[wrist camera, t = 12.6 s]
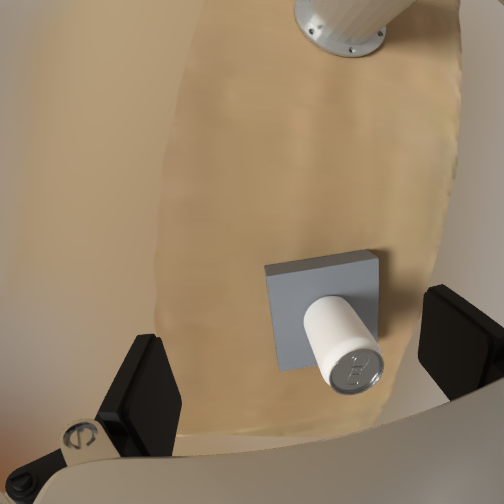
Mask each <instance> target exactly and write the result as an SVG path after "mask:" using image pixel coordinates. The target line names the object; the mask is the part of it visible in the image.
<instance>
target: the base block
mask: <svg viewBox="0 0 504 504" xmlns="http://www.w3.org/2000/svg"><path fill="white" fill-rule="evenodd" d="M264 269H265V276H266V283H267V290H268V297H269V304H270V311H271V318H272V325H273V332H274V340H275V347H276V354H277V360H278V365H279V370H280V372H281V371H287V370H293V369H299V368H304V367H310V366H315V365H318V363H317V361H316V358H315V355H314V353H313V350H312V347H311V345H310V342H309V339H308V337H307V334H306V331H305V328H304V316H305V313H306V311H307V309H308V308H309V307H310V306H311V305H312V304H313V303H314V302H315V301H317V300H318V299H320V298H323V297H327V296H338V297H341V298H343V299H344V300H346V301H347V302H348V303H349V304H350V306H351V307H352V308H353V310H354V311H355V312H356V314H357V315H358V316H359V318H360V319H361V320H362V322H363V323H364V325H365V326H366V327H367V329H368V330H369V332H370V333H371V334H372V336H373V337H374V339H375V340H376V342H378V316H379V258H378V257H377V256H375V255H374V254H372V253H371V252H370V251H368V250H367V249H366V250H360V251H354V252H348V253H342V254H336V255H330V256H323V257H317V258H311V259H304V260H298V261H292V262H285V263H279V264H272V265H266V266H264Z"/></svg>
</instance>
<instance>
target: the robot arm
mask: <svg viewBox="0 0 504 504" xmlns="http://www.w3.org/2000/svg"><path fill="white" fill-rule="evenodd" d="M415 1H417V0H296V3H295V8H294V14H295V18H296V22H297V24H298V26H299V28H300V30H301V31H302V32H303V34H304V35H305V36H306V37H307V38H308V39H309V40H310V41H311V42H312V43H313V44H315V45H316V46H317V47H319V48H321V49H322V50H324V51H326V52H328V53H331V54H334V55H337V56H342V57H352V58H353V57H361V56H364V55H367V54H369V53H371V52H373V51H374V50H375V49H377V48H378V47H379V46H380V45H381V43H382V42H383V40H384V38H385V35H386V25H387V24H388V23H389V22H391V21H392V20H393V19H394V18H395V17H397V16H398V15H399V14H400V13H402V12H403V11H404V10H405V9H407V8H408V7H409V6H410V5H412V4H413V3H414V2H415ZM498 1H500V2H501V3H502V4H503V5H504V0H498ZM310 33H312V34H313V35H312V34H310ZM349 51H351V52H349ZM418 359H419V362H420V363H421V365H422V366H423V367H424V368H425V370H426V371H427V372H428V373H429V375H430V376H431V377H432V378H433V380H434V381H435V382H436V383H437V385H438V386H439V387H440V389H441V390H442V391H443V392H444V394H445V395H446V396H447V398H448V399H449V400H450V402H447V403H444V404H442V405H440V406H437V407H434V408H431V409H429V410H426V411H423V412H421V413H418V414H415V415H412V416H409V417H406V418H403V419H400V420H396V421H393V422H390V423H387V424H384V425H380V426H377V427H373V428H369V429H366V430H362V431H358V432H354V433H350V434H346V435H342V436H338V437H333V438H329V439H325V440H319V441H315V442H309V443H304V444H298V445H293V446H287V447H281V448H273V449H267V450H259V451H250V452H241V453H231V454H216V455H199V456H172V451H173V447H174V442H175V437H176V431H177V426H178V421H179V416H180V412H181V407H182V400H181V396H180V393H179V390H178V387H177V384H176V382H175V379H174V376H173V373H172V370H171V367H170V364H169V361H168V358H167V355H166V352H165V349H164V346H163V343H162V340H161V338H160V337H156V336H155V334H144V335H137V337H136V339H135V340H134V343H133V344H132V346H131V348H130V350H129V352H128V353H127V355H126V357H125V359H124V361H123V363H122V365H121V367H120V369H119V371H118V373H117V375H116V377H115V378H114V381H113V383H112V385H111V386H110V389H109V390H108V393H107V395H106V396H105V399H104V400H103V402H102V404H101V406H100V409H99V411H98V413H97V415H96V417H95V419H94V420H93V419H80V420H77V421H74V422H72V423H70V424H68V425H67V426H66V427H65V428H64V429H63V430H62V432H61V433H60V436H59V445H60V449H58V450H56V451H54V452H52V453H50V454H48V455H46V456H43V457H41V458H39V459H37V460H35V461H33V462H31V463H29V464H26V465H24V466H22V467H20V468H18V469H16V470H15V471H13V472H12V473H11V474H10V475H9V477H8V478H7V480H6V485H5V488H6V492H5V493H4V494H3V493H2V492H1V491H0V504H504V328H503V327H502V326H501V325H499V324H498V323H497V322H495V321H494V320H492V319H491V318H490V317H489V316H487V315H486V314H485V313H483V312H482V311H480V310H479V309H478V308H476V307H475V306H474V305H472V304H471V303H469V302H468V301H467V300H465V299H464V298H462V297H461V296H459V295H458V294H457V293H455V292H454V291H452V290H451V289H449V288H448V287H446V286H445V285H443V284H441V285H437V286H433V287H429V288H428V290H427V292H425V294H424V299H423V311H422V322H421V332H420V340H419V349H418Z"/></svg>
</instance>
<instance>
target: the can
mask: <svg viewBox="0 0 504 504" xmlns="http://www.w3.org/2000/svg"><path fill="white" fill-rule="evenodd" d="M304 328H305V331H306V334H307V337H308V339H309V342H310V345H311V347H312V350H313V353H314V355H315V358H316V361H317V363H318V366H319V369H320V371H321V374H322V376H323V378H324V380H325V381H326V382H327V383H328V384H329V385H330V386H331V387H332V389H333V390H334V391H336V392H337V393H339V394H343V395H355V394H359V393H362V392H364V391H366V390H368V389H369V388H371V387H372V386H373V385H374V384H375V383H376V382H377V381H378V380H379V378H380V377H381V375H382V372H383V369H384V361H383V358H382V352H381V349H380V347H379V345H378V343H377V342H376V340H375V339H374V337H373V336H372V334H371V333H370V332H369V330H368V329H367V327H366V326H365V325H364V323H363V322H362V320H361V319H360V318H359V316H358V315H357V314H356V312H355V311H354V310H353V308H352V307H351V306H350V304H349V303H348V302H347V301H346V300H344V299H343V298H341V297H338V296H327V297H323V298H320V299H318V300H317V301H315V302H314V303H313V304H312V305H311V306H310V307H309V308H308V309H307V311H306V313H305V316H304Z"/></svg>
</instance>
